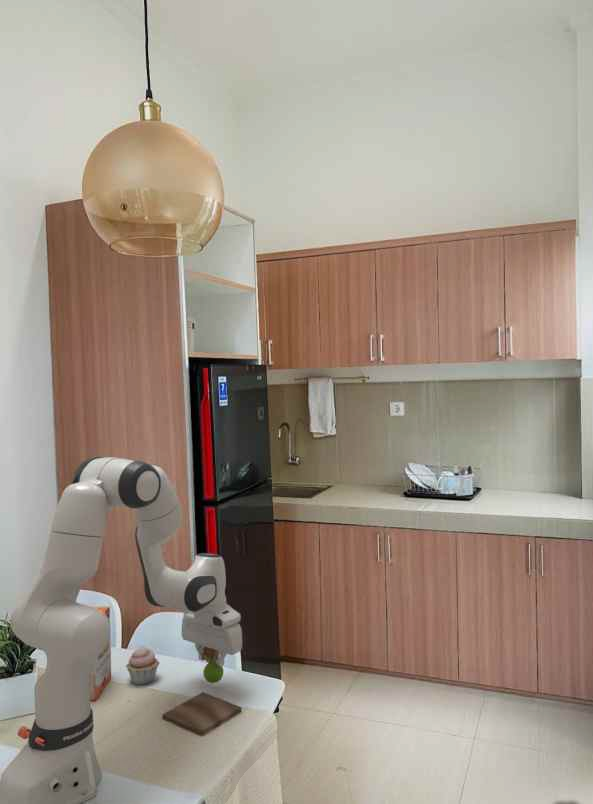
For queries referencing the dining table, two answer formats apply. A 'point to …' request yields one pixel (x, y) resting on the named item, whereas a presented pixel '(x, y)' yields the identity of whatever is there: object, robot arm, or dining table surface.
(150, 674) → the cupcake
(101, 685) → the cracker box
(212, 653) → the snail figurine
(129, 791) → the dining table surface
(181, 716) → the walnut board
